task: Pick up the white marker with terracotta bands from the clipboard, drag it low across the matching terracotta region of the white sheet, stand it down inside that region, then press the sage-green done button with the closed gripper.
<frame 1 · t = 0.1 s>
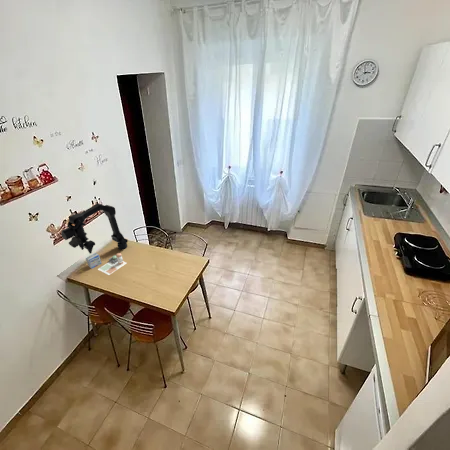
hand: (86, 251, 179), 15 cm above the table, fingers open, 9 cm apart
medicine box: (95, 265, 189), on the table
clipboard: (112, 266, 187), on the table
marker: (120, 263, 189), point 1 cm above the table, touching clipboard
done button: (114, 257, 191), point 3 cm above the table, slide at 0.0 cm
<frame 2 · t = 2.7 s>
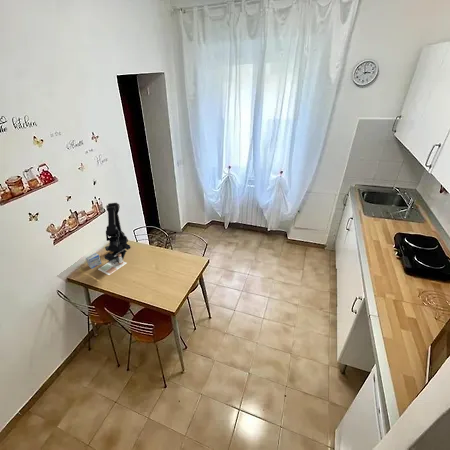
hand: (120, 261, 189), 3 cm above the table, fingers closed on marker, 4 cm apart
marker: (120, 263, 189), point 1 cm above the table, touching clipboard, gripper
everything else where it was.
when the fingers open (3 cm above the table, at t = 7.3 s): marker stays where it is, resting on clipboard.
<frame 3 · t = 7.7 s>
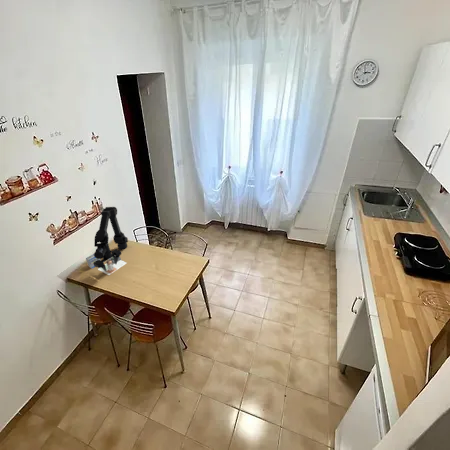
hand: (110, 267, 181), 3 cm above the table, fingers open, 8 cm apart
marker: (111, 270, 182), point 1 cm above the table, touching clipboard
everything else where it was.
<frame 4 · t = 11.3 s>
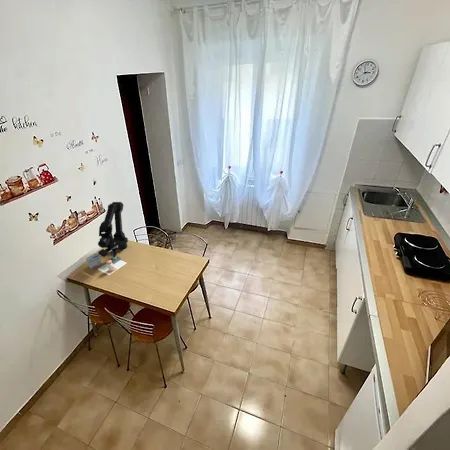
hand: (114, 257, 191), 4 cm above the table, fingers closed, pressing on done button
done button: (114, 258, 191), point 3 cm above the table, slide at 0.3 cm, touching gripper
everything else where it was.
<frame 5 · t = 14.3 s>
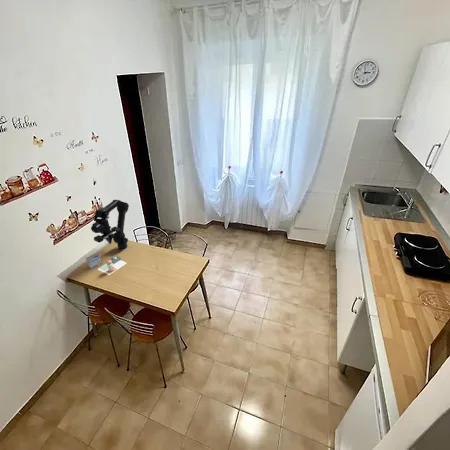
hand: (110, 243, 190), 13 cm above the table, fingers closed
done button: (114, 258, 192), point 2 cm above the table, slide at 1.1 cm
everything else where it was.
at the end: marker inside the target area (0.1 cm from its centre), point 0.8 cm above the table; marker tilted 0°; done button slide at 1.1 cm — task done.
